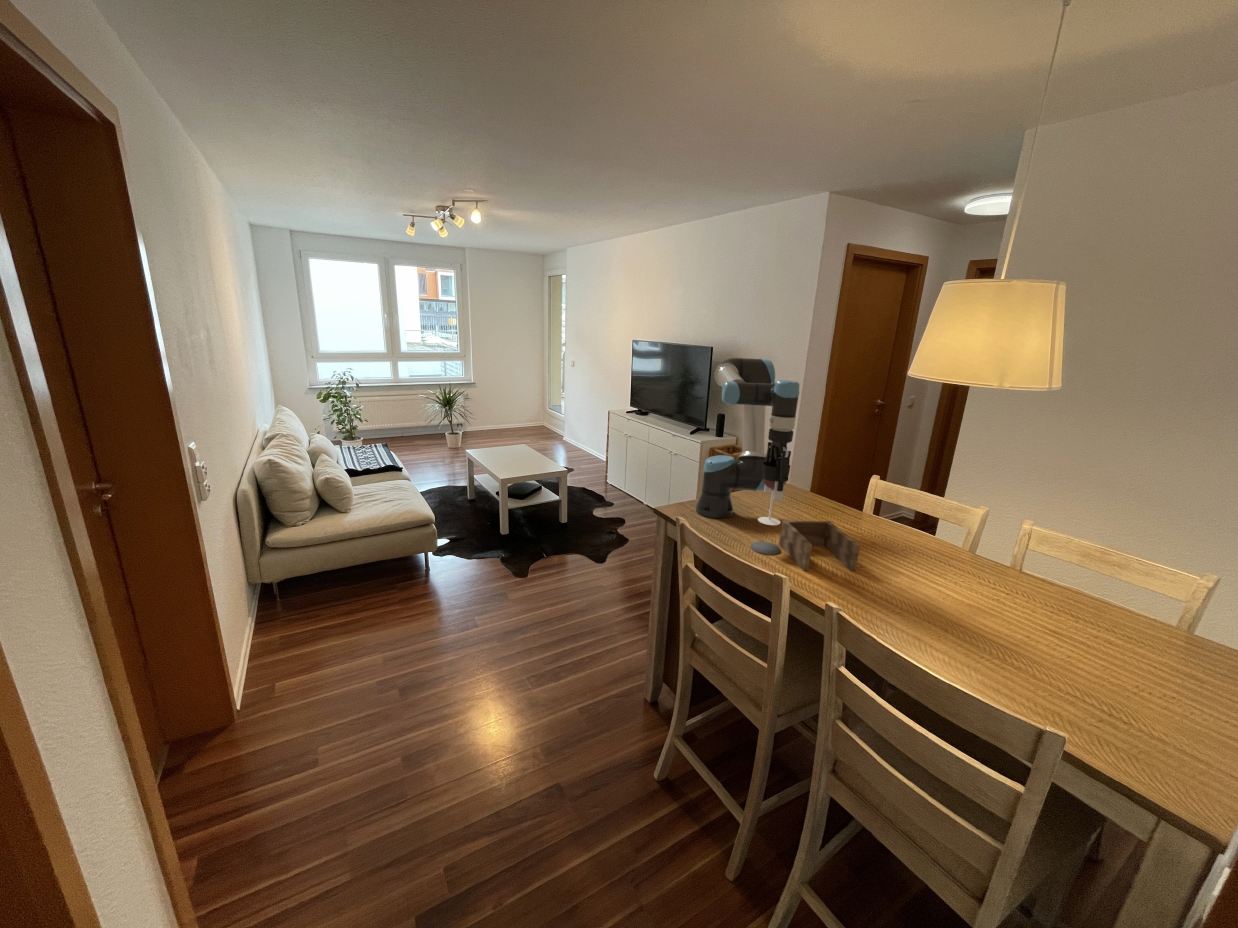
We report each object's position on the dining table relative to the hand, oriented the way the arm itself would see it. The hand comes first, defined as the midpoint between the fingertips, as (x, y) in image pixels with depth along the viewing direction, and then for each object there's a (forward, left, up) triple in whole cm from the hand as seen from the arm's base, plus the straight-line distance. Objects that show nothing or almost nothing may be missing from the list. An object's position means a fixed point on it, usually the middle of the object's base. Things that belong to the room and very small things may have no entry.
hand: (772, 495), depth 166 cm
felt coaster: (0, 0, -19) cm, 19 cm away
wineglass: (0, 0, -9) cm, 9 cm away
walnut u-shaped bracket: (+6, +15, -19) cm, 25 cm away
